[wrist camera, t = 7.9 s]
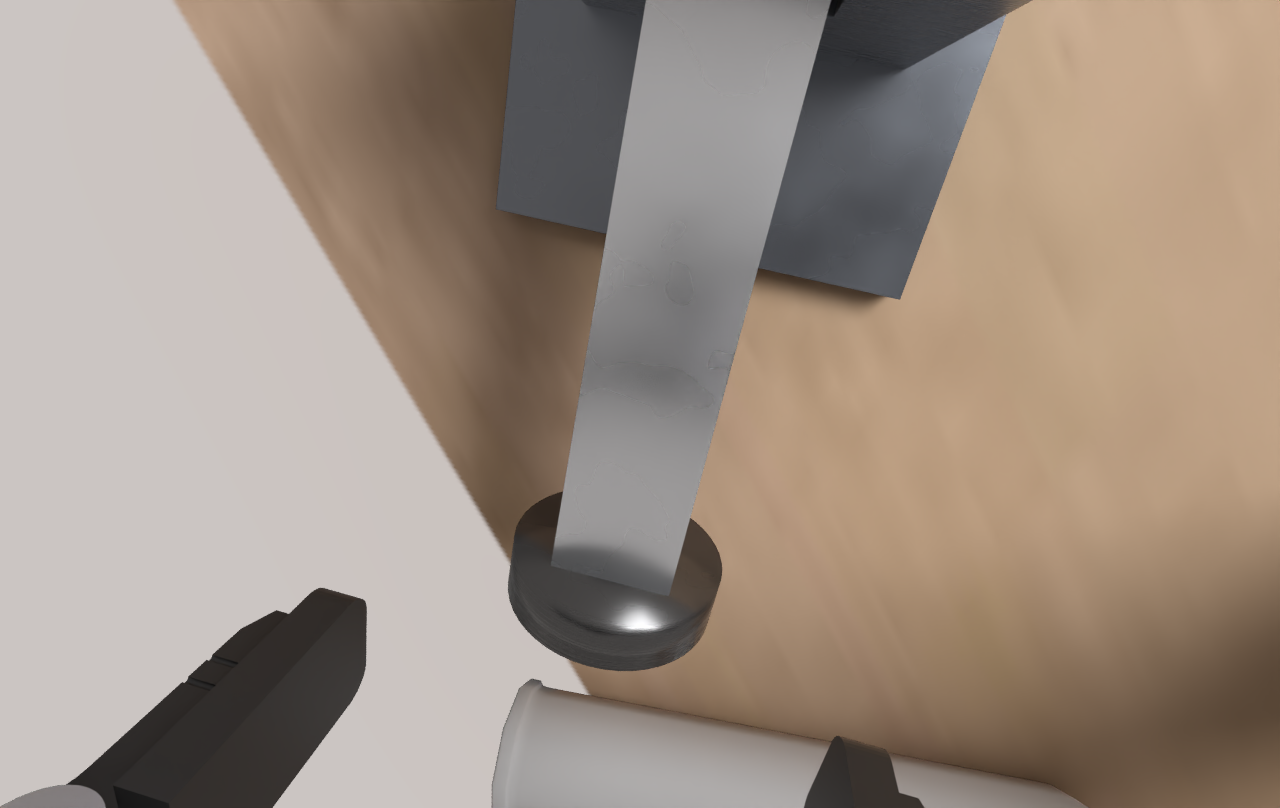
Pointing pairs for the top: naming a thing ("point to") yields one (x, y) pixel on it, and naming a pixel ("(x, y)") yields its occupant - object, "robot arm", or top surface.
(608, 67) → the bearing block
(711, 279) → the shaft
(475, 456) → the top surface
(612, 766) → the tube
